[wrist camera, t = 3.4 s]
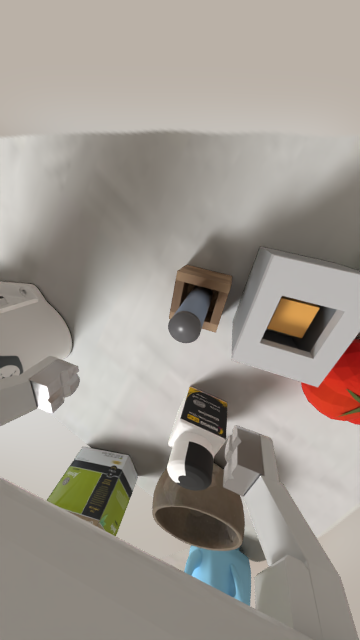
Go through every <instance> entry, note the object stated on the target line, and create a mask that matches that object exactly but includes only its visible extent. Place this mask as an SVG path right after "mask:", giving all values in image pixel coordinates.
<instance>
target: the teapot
mask: <svg viewBox="0 0 360 640" xmlns="http://www.w3.org/2000/svg"><path fill="white" fill-rule="evenodd" d="M239 550H240V547H239V548H237V549H234V550H230V551H213V550H207V549H203V548H199V547H195V546H192V545H191V547H190V553H189V557H188V560H187V563H186V567H185V571H184V572H185V573H187V574H189V575H191V576H193V577H195V578H197V579H199V580H200V581H202V582H204V583H206V584H208V585H210V586H212V587H214V588H216V589H218V590H220V591H222V592H224V593H225V594H227V595H229V596H231V597H233V598H235V599H237V600H239V601H241V602H243V603H245V604H247V605H249V606H250V596H251V594H250V593H251V570H250V564H249V559H248V557H247V556H246V555H244V554H243V553H242V552H240V551H239Z"/></svg>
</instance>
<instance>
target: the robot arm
mask: <svg viewBox="0 0 360 640" xmlns="http://www.w3.org/2000/svg"><path fill="white" fill-rule="evenodd" d="M71 349H72V339H71V335H70V332H69V329H68V327H67V325H66V323H65V322H64V320H63V319H62V317H61V316H60V315H59V313H58V312H57V311H56V310H55V309H54V308H53V307H52V306H51V305H50V304H49V303H48V302H47V301H46V300H45V299H44V297H43V296H42V294H41V292H40V291H39V290H38V288H37V287H36V286H35V285H33V284H25V283H13V282H1V281H0V426H2V425H4V424H6V423H8V422H10V421H12V420H14V419H16V418H18V417H21V416H23V415H25V414H27V413H29V412H31V411H33V410H35V409H37V408H40V409H42V410H45V411H47V412H50V413H54V412H55V411H56V410H57V409H58V408H59V407H60V406H61V405H62V404H63V403H64V399H65V397H68V396H71V395H72V394H73V393H74V392H75V391H76V389H77V387H78V386H79V382H80V379H79V376H78V375H77V372H79V369H78V366H76V365H74V364H71V363H69V362H66V361H64V360H63V359H65V358H66V357H67V356H68V355H69V354H70V352H71ZM225 460H226V462H227V464H226V466H225V468H224V476H223V487H224V488H226V489H228V490H231V491H233V492H235V493H237V494H239V495H241V496H244V497H243V499H244V502H245V504H246V507H247V510H248V512H249V515H250V518H251V520H252V523H253V526H254V528H255V531H256V534H257V536H258V539H259V542H260V544H261V547H262V550H263V552H264V555H265V558H266V560H267V563H268V566H269V567H268V568H266V569H265V570H263V571H262V572H260V573H258V574H257V575H256V576H255V577H254V580H255V604H256V609H254V608H252V607H250V606H249V605H247V604H245V603H243V602H241V601H239V600H237V599H235V598H233V597H231V596H229V595H227V594H225V593H224V592H222V591H220V590H218V589H216V588H214V587H212V586H210V585H208V584H206V583H204V582H202V581H200V580H199V579H197V578H195V577H193V576H191V575H189V574H187V573H185V572H183V571H181V570H179V569H177V568H175V567H174V566H172V565H170V564H168V563H166V562H164V561H162V560H160V559H158V558H156V557H154V556H152V555H150V554H148V553H147V552H145V551H143V550H141V549H139V548H137V547H135V546H133V545H131V544H129V543H127V542H125V541H123V540H122V539H119V538H118V537H116V536H114V535H112V534H110V533H108V532H106V531H104V530H102V529H100V528H99V527H97V526H95V525H93V524H91V523H89V522H87V521H85V520H83V519H81V518H79V517H77V516H75V515H73V514H72V513H70V512H68V511H66V510H64V509H62V508H60V507H58V506H56V505H54V504H52V503H50V502H48V501H47V500H44V499H43V498H41V497H39V496H37V495H35V494H33V493H31V492H29V491H27V490H25V489H23V488H22V487H20V486H18V485H15V484H14V483H12V482H10V481H8V480H6V479H4V478H2V477H0V640H359V638H358V635H357V631H356V628H355V625H354V621H353V618H352V614H351V611H350V608H349V604H348V601H347V597H346V594H345V591H344V587H343V584H342V581H341V577H340V576H339V574H338V572H337V571H336V569H335V568H334V566H333V564H332V563H331V561H330V559H329V558H328V556H327V555H326V553H325V551H324V550H323V548H322V547H321V545H320V543H319V542H318V540H317V538H316V537H315V535H314V533H313V532H312V530H311V528H310V527H309V525H308V523H307V522H306V520H305V519H304V517H303V515H302V514H301V512H300V510H299V509H298V507H297V505H296V504H295V502H294V501H293V499H292V497H291V496H290V494H289V492H288V491H287V489H286V487H285V486H284V484H282V483H280V482H279V476H278V470H277V464H276V458H275V452H274V446H273V441H272V439H271V438H270V437H267V436H264V435H261V434H258V433H257V432H254V431H251V430H248V429H246V428H243V427H240V426H237V425H236V426H234V428H233V434H232V435H230V436H229V438H228V440H227V443H226V448H225Z"/></svg>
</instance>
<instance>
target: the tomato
mask: <svg viewBox="0 0 360 640" xmlns="http://www.w3.org/2000/svg"><path fill="white" fill-rule="evenodd" d="M301 384H302V389H303V392H304V394H305V396H306V398H307V400H308V401H309V402H310V403H311V404H312V405H313V406H314V407H315V408H316V409H317V410H318V411H319V412H321V413H322V414H324V415H326V416H327V417H329V418H331V419H335V420H342V421H349V422H351V423H354V424H359V425H360V339H354V340H353V341H352V343H351V344H350V345H349V347H348V348H347V349H346V351H345V352H344V353H343V355H342V356H341V357H340V359H339V360H338V361H337V363H336V364H335V365H334V367H333V368H332V369H331V371H330V372H329V373H328V375H327V376H326V377H325V379H324V380H323V381H322V383H321V384H320V385H319V387H315V386H312V385H309V384H306V383H302V382H301Z"/></svg>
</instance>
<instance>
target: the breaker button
mask: <svg viewBox="0 0 360 640" xmlns="http://www.w3.org/2000/svg"><path fill="white" fill-rule="evenodd" d="M318 310H319V307H318V306H317V305H316V304H313V303H309V302H305V301H301V300H297V299H293V298H290V297H286V296H282V297H281V299H280V301H279V303H278V305H277V307H276V309H275V311H274V314H273V316H272V318H271V320H270V322H269V324H268V326H267V329H271V330H274V331H278V332H281V333H285V334H288V335H292V336H295V337H299V338H302V337H303V336H304V334H305V332H306V330H307V329H308V327H309V325H310V324H311V322H312V320H313V319H314V317H315V315H316V314H317V312H318Z"/></svg>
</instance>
